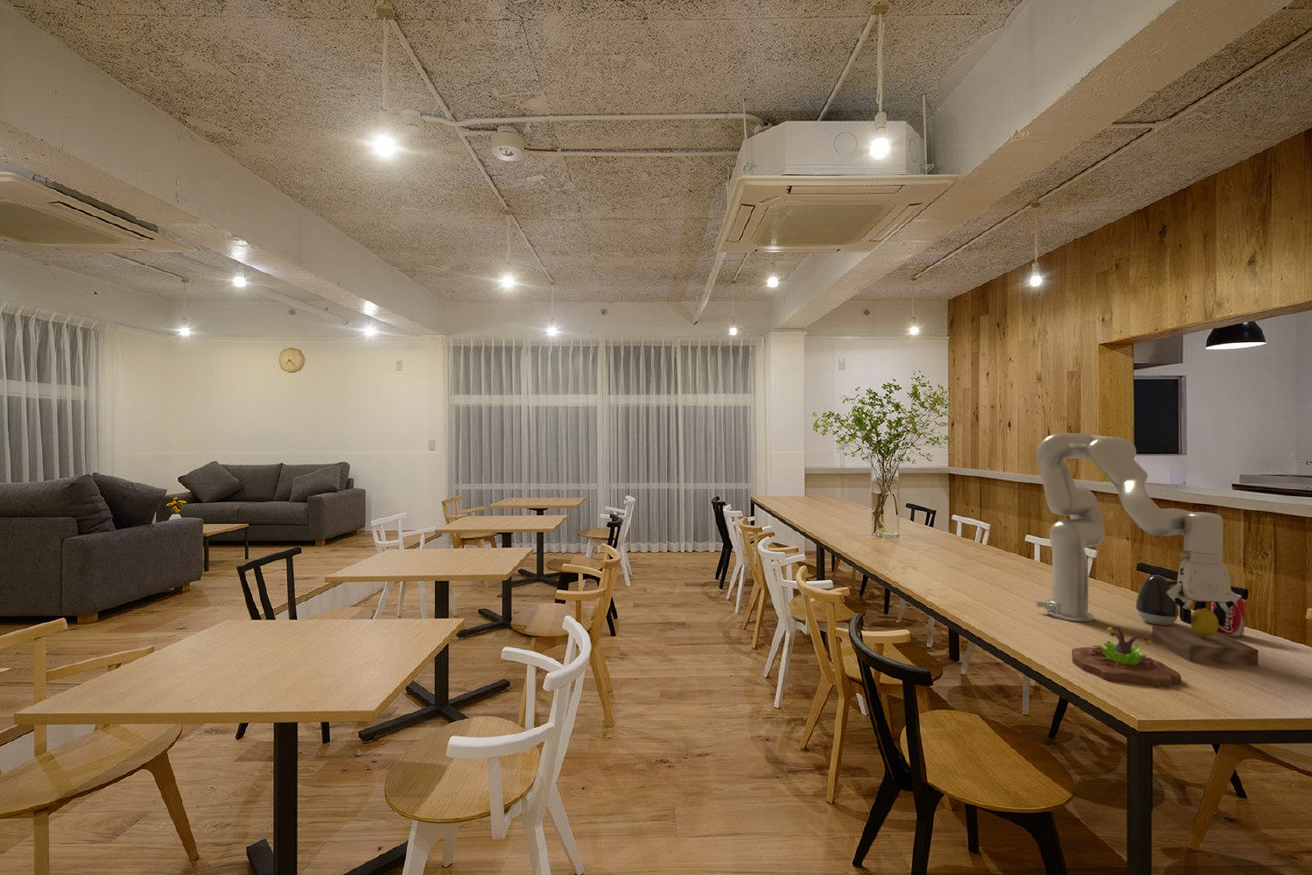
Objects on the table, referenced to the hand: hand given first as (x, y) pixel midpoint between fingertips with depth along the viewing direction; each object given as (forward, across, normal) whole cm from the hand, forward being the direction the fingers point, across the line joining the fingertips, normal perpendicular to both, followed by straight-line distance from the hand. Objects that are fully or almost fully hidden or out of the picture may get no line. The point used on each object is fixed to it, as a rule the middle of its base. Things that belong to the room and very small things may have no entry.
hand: (1202, 622), depth 154 cm
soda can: (+8, +18, +20) cm, 29 cm away
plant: (+9, -28, -18) cm, 35 cm away
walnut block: (+9, 0, 0) cm, 9 cm away
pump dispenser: (+8, +4, +27) cm, 29 cm away
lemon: (+4, 0, 0) cm, 4 cm away
